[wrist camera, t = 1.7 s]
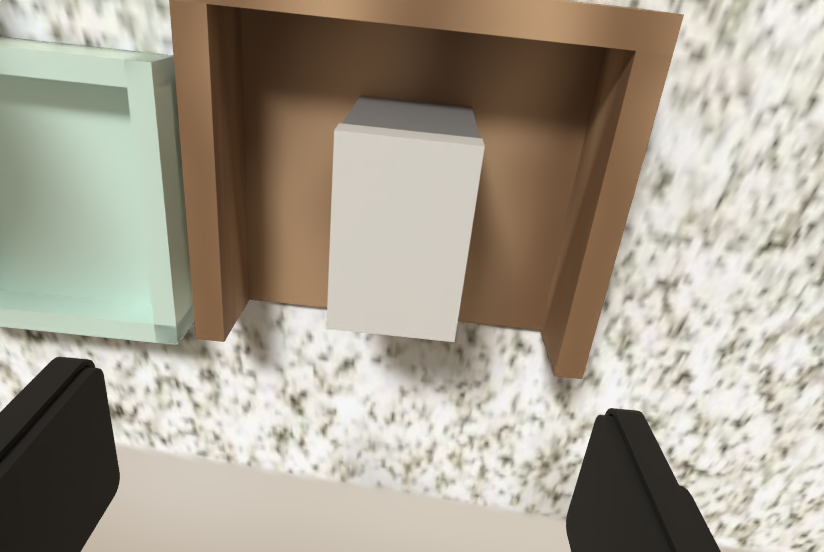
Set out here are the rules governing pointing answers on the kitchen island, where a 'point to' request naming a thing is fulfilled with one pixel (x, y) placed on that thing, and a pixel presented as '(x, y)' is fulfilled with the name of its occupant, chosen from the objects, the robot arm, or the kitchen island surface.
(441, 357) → the kitchen island surface
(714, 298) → the kitchen island surface
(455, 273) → the off-white upright block
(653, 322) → the kitchen island surface
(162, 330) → the tray
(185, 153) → the bay
